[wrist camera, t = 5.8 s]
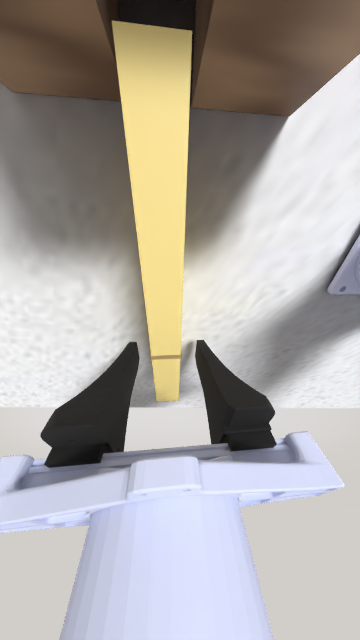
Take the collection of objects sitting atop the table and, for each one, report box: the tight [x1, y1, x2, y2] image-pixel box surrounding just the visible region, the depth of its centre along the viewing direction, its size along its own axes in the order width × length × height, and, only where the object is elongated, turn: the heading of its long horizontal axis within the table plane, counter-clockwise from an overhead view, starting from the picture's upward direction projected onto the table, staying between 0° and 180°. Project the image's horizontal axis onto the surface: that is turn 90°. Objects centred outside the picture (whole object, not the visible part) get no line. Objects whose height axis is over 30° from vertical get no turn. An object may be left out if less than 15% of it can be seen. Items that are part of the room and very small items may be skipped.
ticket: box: [112, 21, 192, 402], centre depth 9 cm, size 2×14×6 cm, turn 178°
